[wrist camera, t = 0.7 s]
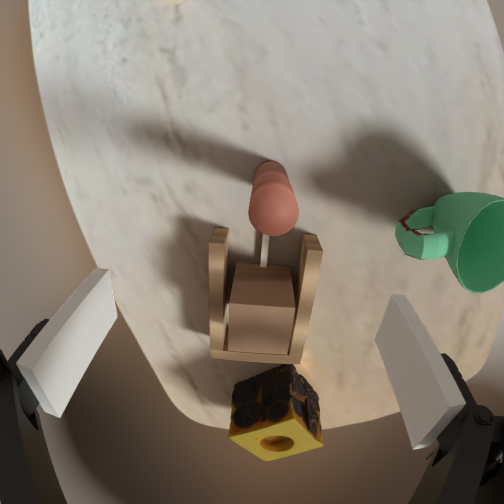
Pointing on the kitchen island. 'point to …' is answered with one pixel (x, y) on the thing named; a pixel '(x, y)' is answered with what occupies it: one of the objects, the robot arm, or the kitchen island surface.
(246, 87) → the kitchen island surface
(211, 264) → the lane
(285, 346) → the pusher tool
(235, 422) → the toy block
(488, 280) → the mug
